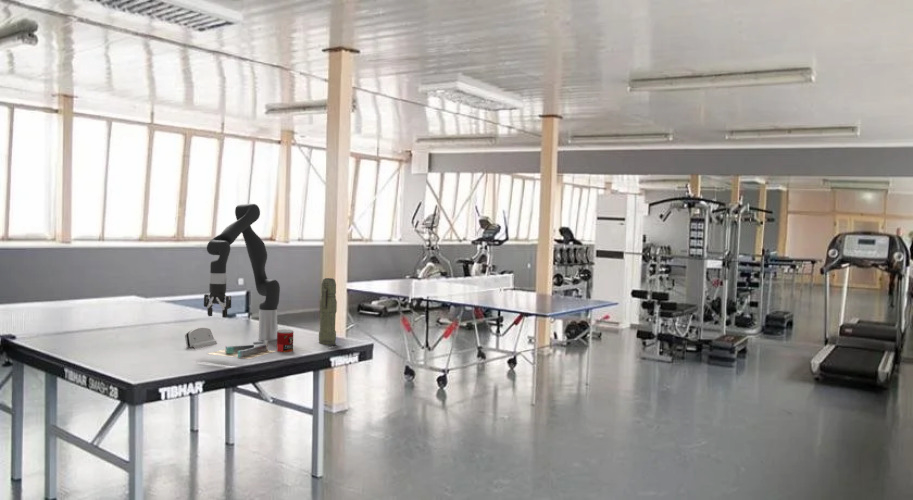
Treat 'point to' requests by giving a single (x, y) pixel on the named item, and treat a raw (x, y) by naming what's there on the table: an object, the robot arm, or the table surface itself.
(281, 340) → the canned food
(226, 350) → the tong arm
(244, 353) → the tongs fixed
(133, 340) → the table surface
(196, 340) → the grey curved block
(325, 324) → the green moai statue
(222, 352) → the board
